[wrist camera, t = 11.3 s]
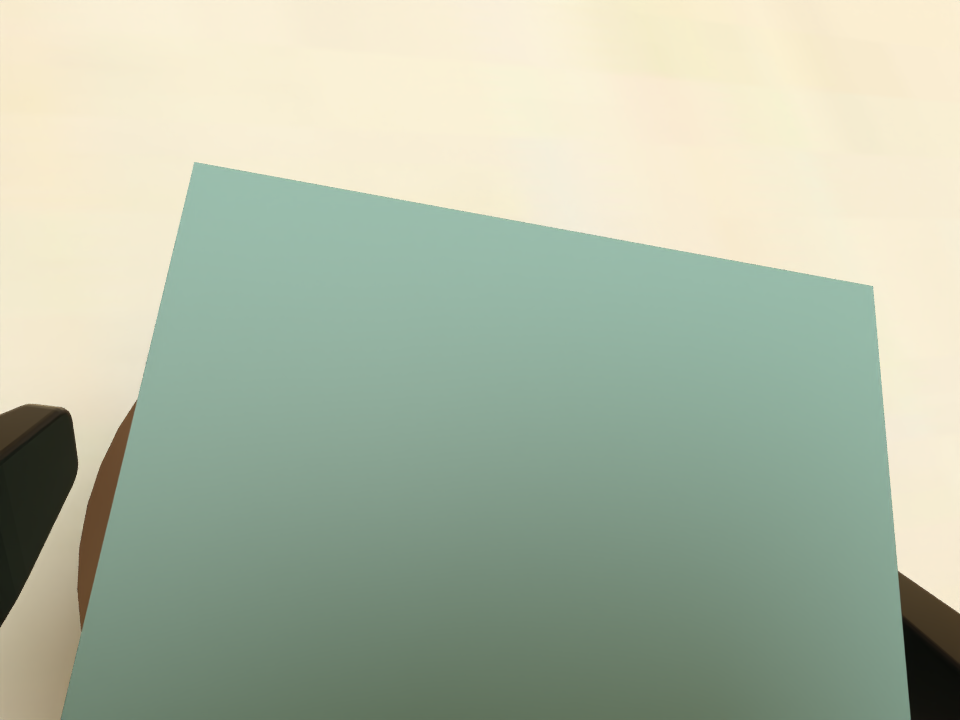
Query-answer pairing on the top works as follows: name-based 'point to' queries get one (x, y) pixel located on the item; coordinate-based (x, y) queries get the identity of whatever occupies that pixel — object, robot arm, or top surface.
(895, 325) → the top surface
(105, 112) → the top surface
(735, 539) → the sage green post
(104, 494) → the walnut base
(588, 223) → the top surface
